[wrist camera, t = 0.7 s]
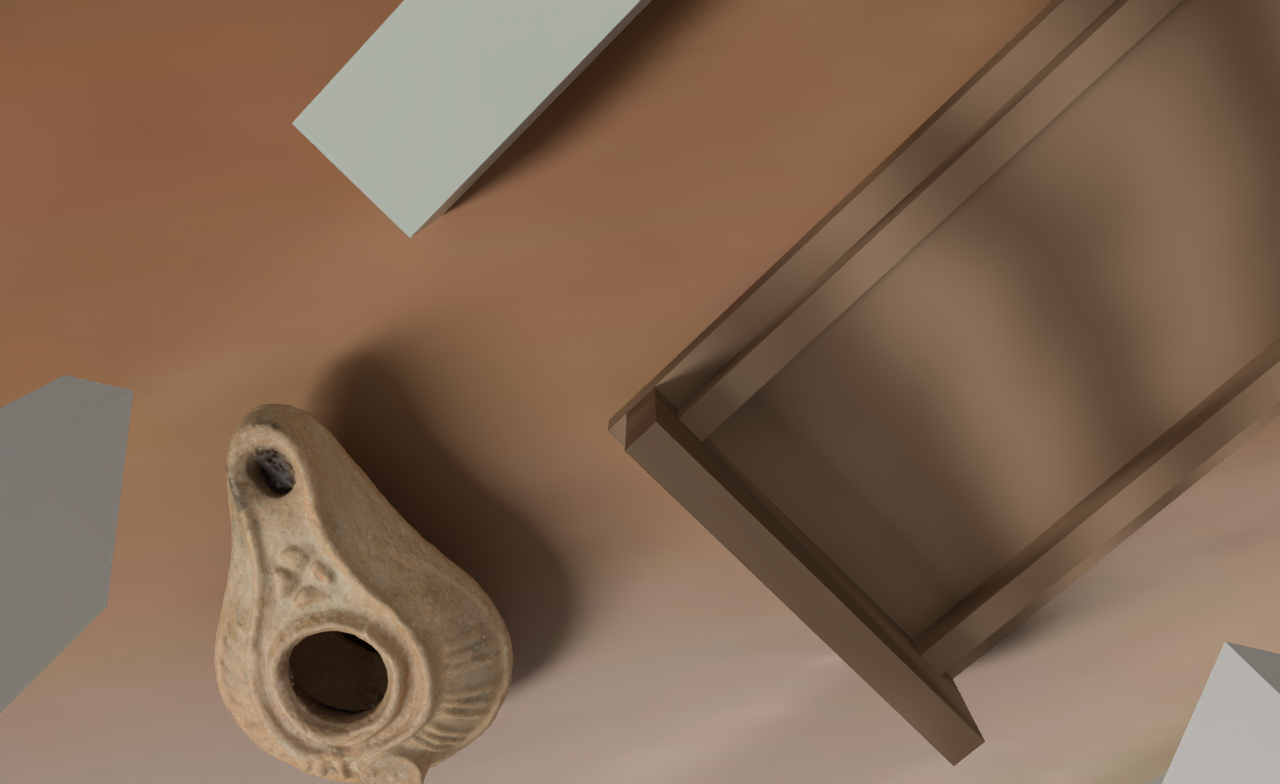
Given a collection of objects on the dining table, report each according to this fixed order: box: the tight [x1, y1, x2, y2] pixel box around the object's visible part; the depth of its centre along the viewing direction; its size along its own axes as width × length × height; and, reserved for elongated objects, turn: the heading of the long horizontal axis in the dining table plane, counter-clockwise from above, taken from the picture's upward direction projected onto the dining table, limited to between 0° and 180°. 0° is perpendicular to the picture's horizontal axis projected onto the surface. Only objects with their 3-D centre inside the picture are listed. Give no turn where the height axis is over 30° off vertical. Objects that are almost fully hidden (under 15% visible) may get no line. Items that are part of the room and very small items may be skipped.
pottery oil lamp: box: [214, 404, 514, 784], centre depth 33 cm, size 9×12×7 cm
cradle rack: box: [608, 0, 1280, 766], centre depth 31 cm, size 24×14×4 cm, turn 135°
